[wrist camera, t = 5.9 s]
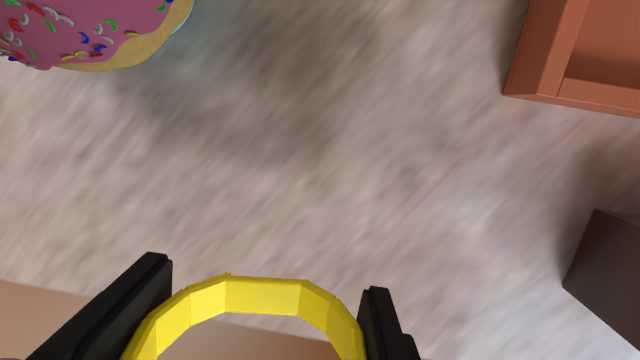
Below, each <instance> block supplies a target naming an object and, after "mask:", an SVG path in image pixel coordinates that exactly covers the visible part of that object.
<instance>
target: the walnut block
mask: <svg viewBox="0 0 640 360" xmlns="http://www.w3.org/2000/svg"><path fill="white" fill-rule="evenodd" d="M562 287H563V288H564V289H565V290H566V291H567V292H569V293H570V294H571V295H572V296H573V297H575V298H576V299H577V300H578V301H580V302H581V303H582V304H583V305H584V306H586V307H587V308H588V309H589V310H590V311H592V312H593V313H594V314H595V315H596V316H598V317H599V318H600V319H601V320H602V321H604V322H605V323H606V324H607V325H608V326H610V327H611V328H612V329H613V330H614V331H616V332H617V333H618V334H619V335H620V336H622V337H623V338H624V339H625V340H627V341H628V342H629V343H630V344H631V345H633V346H634V347H635V348H636V349H637V350H639V351H640V216H635V215H629V214H623V213H618V212H612V211H606V210H600V209H595V210H594V212H593V215H592V217H591V219H590V222H589V224H588V227H587V229H586V231H585V234H584V236H583V239H582V241H581V243H580V246H579V248H578V250H577V253H576V255H575V258H574V260H573V262H572V265H571V267H570V270H569V272H568V274H567V277H566V279H565V281H564V284H563V286H562Z"/></svg>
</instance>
